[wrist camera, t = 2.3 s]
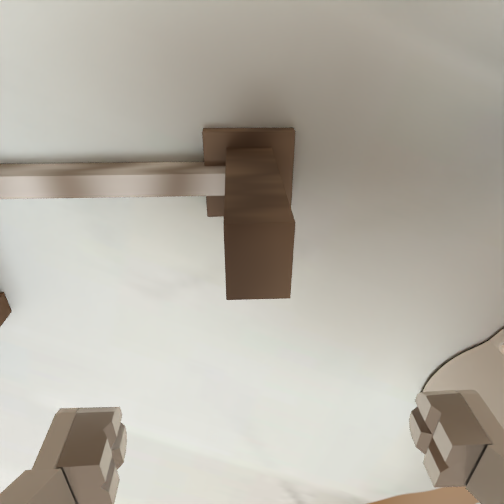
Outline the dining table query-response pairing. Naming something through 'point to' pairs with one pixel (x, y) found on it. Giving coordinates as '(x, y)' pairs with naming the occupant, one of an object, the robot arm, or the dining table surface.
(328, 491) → the dining table surface
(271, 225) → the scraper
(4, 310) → the wooden footstool
